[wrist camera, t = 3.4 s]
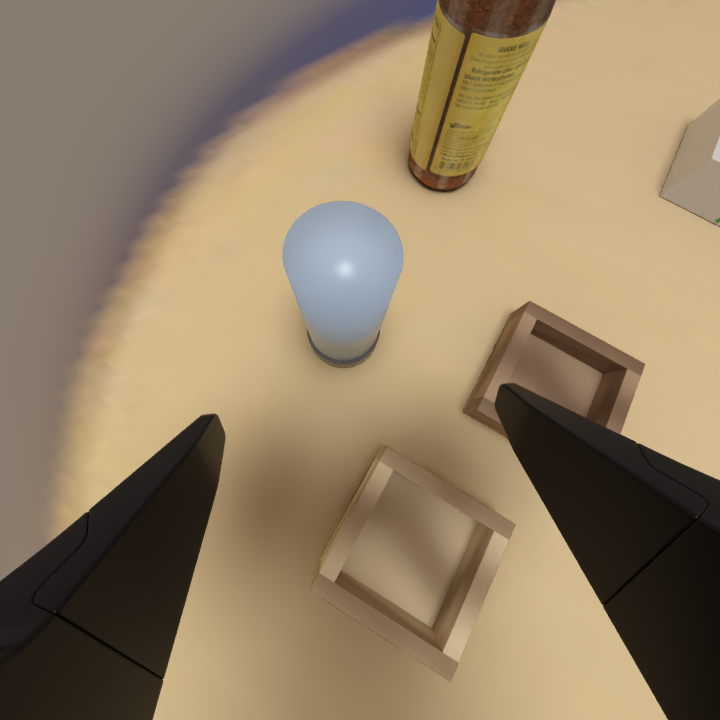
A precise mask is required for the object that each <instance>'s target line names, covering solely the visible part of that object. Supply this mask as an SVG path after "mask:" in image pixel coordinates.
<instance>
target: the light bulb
mask: <svg viewBox="0 0 720 720" xmlns="http://www.w3.org/2000/svg"><path fill="white" fill-rule="evenodd" d="M283 263H284V267H285V270H286V273H287V276H288V279H289V281H290V284H291V287H292V289H293V292H294V295H295V297H296V300H297V303H298V305H299V308H300V311H301V313H302V316H303V319H304V321H305V324H306V327H307V333H308V338H309V341H310V343H311V346H312V348H313V350H314V352H315V353H316V355H317V356H318V357H319V358H320V359H321V360H322V361H324V362H325V363H327V364H329V365H331V366H334V367H339V368H348V367H353V366H356V365H358V364H360V363H362V362H364V361H365V360H366V359H367V358H368V357H369V356H370V355H371V353H372V352H373V350H374V348H375V346H376V343H377V340H378V338H379V333H380V326H381V324H382V321H383V318H384V316H385V313H386V311H387V308H388V305H389V303H390V300H391V297H392V295H393V292H394V289H395V287H396V284H397V281H398V279H399V276H400V273H401V270H402V266H403V247H402V243H401V240H400V237H399V235H398V233H397V231H396V229H395V228H394V227H393V225H392V224H391V223H390V222H389V221H388V219H387V218H386V217H384V216H383V215H382V214H381V213H379V212H378V211H376V210H374V209H373V208H370V207H368V206H366V205H363V204H360V203H356V202H349V201H334V202H328V203H324V204H321V205H318V206H315V207H313V208H311V209H310V210H308V211H306V212H305V213H304V214H302V215H301V216H300V217H299V218H298V219H297V220H296V221H295V222H294V223H293V225H292V226H291V228H290V229H289V231H288V233H287V235H286V238H285V241H284V245H283Z"/></svg>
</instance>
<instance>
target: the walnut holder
mask: <svg viewBox="0 0 720 720" xmlns="http://www.w3.org/2000/svg"><path fill="white" fill-rule="evenodd" d="M644 366H645V364H644V363H643V362H641V361H639V360H637V359H635V358H633V357H632V356H630V355H628V354H626V353H624V352H622V351H621V350H619V349H617V348H615V347H613V346H611V345H610V344H608V343H606V342H604V341H602V340H600V339H599V338H597V337H595V336H593V335H591V334H589V333H588V332H586V331H584V330H582V329H580V328H578V327H577V326H575V325H573V324H571V323H569V322H568V321H566V320H564V319H562V318H560V317H558V316H557V315H555V314H553V313H551V312H549V311H547V310H546V309H544V308H542V307H540V306H538V305H536V304H535V303H533V302H531V301H529V302H527V303H526V304H524V305H523V306H521V307H520V308H518V309H517V310H515V311H514V312H512V313H511V315H510V317H509V319H508V321H507V323H506V325H505V327H504V329H503V331H502V333H501V335H500V337H499V339H498V341H497V343H496V345H495V347H494V350H493V352H492V354H491V356H490V358H489V360H488V362H487V364H486V366H485V368H484V370H483V372H482V374H481V376H480V378H479V380H478V382H477V384H476V386H475V388H474V390H473V392H472V394H471V396H470V398H469V400H468V402H467V404H466V406H465V408H464V410H463V412H464V413H466V414H468V415H469V416H471V417H473V418H475V419H476V420H478V421H480V422H481V423H483V424H485V425H487V426H488V427H490V428H492V429H493V430H495V431H497V432H499V433H500V434H502V435H504V436H505V437H507V435H506V433H505V431H504V428H503V426H502V424H501V422H500V419H499V417H498V415H497V412H496V410H495V406H494V404H495V399H496V395H497V392H498V388H499V386H500V385H501V384H503V383H516V384H518V385H520V386H522V387H524V388H526V389H528V390H530V391H532V392H534V393H536V394H538V395H540V396H543V397H545V398H547V399H549V400H551V401H553V402H555V403H557V404H559V405H561V406H563V407H565V408H567V409H569V410H571V411H573V412H575V413H578V414H580V415H582V416H584V417H586V418H588V419H590V420H592V421H594V422H596V423H598V424H600V425H602V426H604V427H606V428H608V429H610V430H612V431H615V432H617V433H619V434H620V433H621V430H622V428H623V425H624V422H625V419H626V416H627V414H628V411H629V408H630V405H631V402H632V400H633V397H634V394H635V391H636V388H637V386H638V383H639V380H640V377H641V374H642V372H643V369H644ZM507 438H508V437H507Z"/></svg>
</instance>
